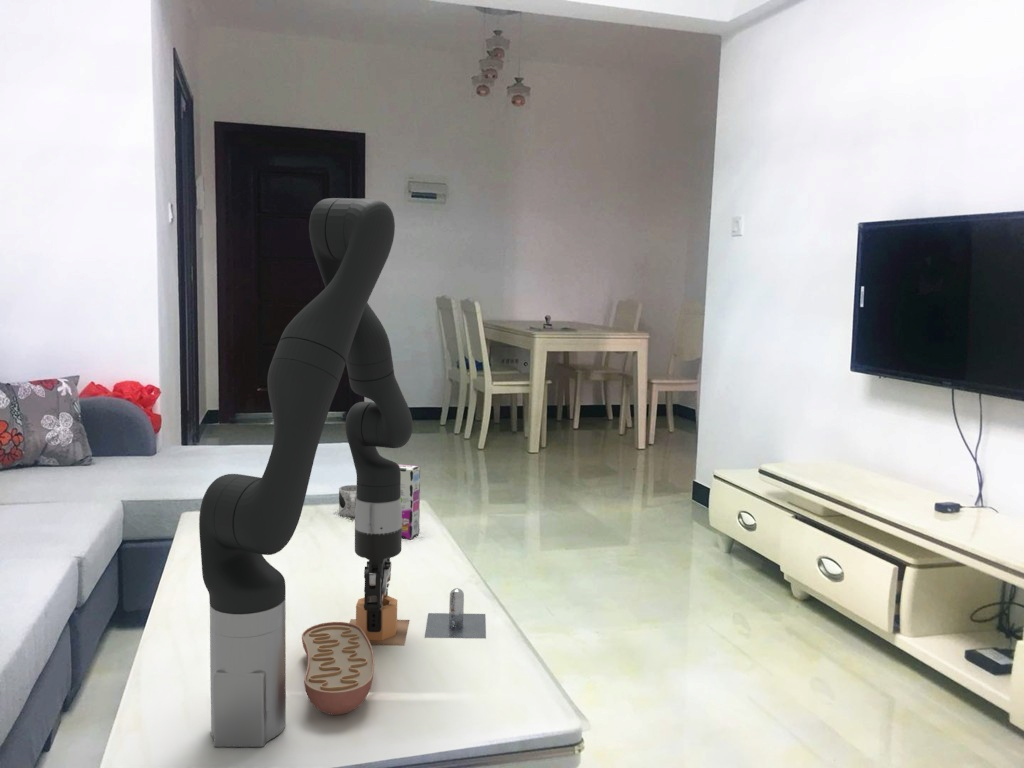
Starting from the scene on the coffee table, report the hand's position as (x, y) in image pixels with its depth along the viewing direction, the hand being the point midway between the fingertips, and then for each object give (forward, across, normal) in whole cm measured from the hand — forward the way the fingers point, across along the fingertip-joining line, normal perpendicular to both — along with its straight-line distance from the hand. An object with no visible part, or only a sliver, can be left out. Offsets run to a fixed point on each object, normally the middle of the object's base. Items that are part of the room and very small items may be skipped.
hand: (377, 620), depth 133 cm
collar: (+2, 0, 0) cm, 2 cm away
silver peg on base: (+3, +3, -13) cm, 13 cm away
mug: (+4, +72, +15) cm, 74 cm away
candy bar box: (+4, +57, +3) cm, 57 cm away
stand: (+3, 0, 0) cm, 3 cm away
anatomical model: (+3, -16, +4) cm, 17 cm away
